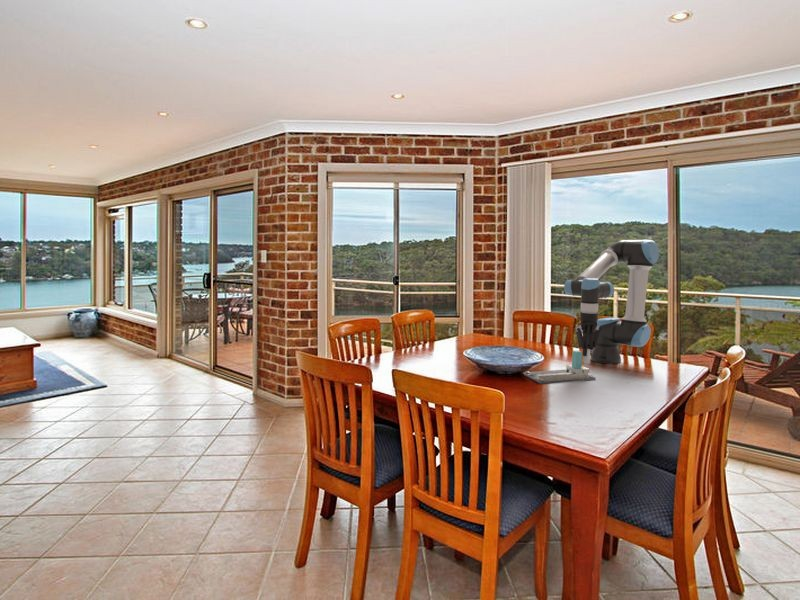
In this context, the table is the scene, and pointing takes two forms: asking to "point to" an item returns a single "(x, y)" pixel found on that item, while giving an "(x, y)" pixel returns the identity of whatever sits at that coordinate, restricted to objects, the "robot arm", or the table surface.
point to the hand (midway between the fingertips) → (586, 362)
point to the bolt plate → (534, 376)
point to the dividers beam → (565, 375)
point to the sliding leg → (575, 363)
